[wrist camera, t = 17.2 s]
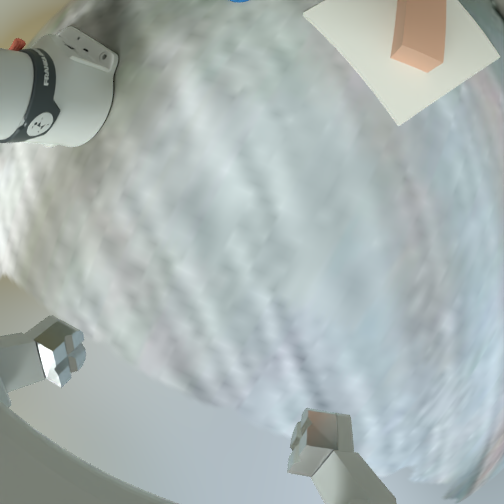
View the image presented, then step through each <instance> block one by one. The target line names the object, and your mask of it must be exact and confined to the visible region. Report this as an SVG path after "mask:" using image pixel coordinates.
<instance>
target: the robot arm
mask: <svg viewBox="0 0 504 504" xmlns="http://www.w3.org/2000/svg"><path fill="white" fill-rule="evenodd" d="M25 44H26V43H25V42H24V41H23V40H22V39H19V38H18V39H17V38H16V39H15V40H14V41H13V44H12V45H11V47H10V48H9V49H2V48H0V143H13V142H23V143H37V144H43V146H44V147H48V148H51V147H54V146H57V145H62V146H67V147H76V146H80V145H82V144H84V143H86V142H87V141H89V140H90V139H91V138H92V137H93V136H94V135H95V134H96V133H97V132H98V131H99V129H100V128H101V126H102V125H103V123H104V121H105V119H106V117H107V115H108V112H109V110H110V106H111V103H112V97H113V76H114V72H115V70H116V67H117V64H118V55H117V54H116V53H114V52H113V51H111V50H110V49H108V48H107V47H105V46H104V45H102V44H101V43H99V42H97V41H96V40H94V39H93V38H91V37H89V36H88V35H86V34H85V33H83V32H81V31H80V30H78V29H76V28H75V27H71V26H69V27H67V28H65V29H63V30H62V31H61V32H59V33H58V34H57V35H52V34H47V35H44V36H43V37H41V38H40V39H38V40H37V41H36V42H35V43H34V44H33V46H32V47H31V48H30V49H23V50H21V49H22V48H23V47H24V46H25ZM106 56H107V57H106ZM105 57H106V59H105ZM83 341H84V336H83V332H81V331H80V330H78V329H76V328H75V327H73V326H71V325H69V324H67V323H66V322H64V321H62V320H60V319H58V318H56V317H55V316H48V317H47V318H45V319H44V320H43V321H41V322H40V323H39V324H37V325H36V326H34V327H33V328H32V329H30V330H29V331H28V332H26V333H25V334H23V333H16V334H10V335H4V336H0V504H178V503H175V502H173V501H170V500H167V499H165V498H162V497H159V496H156V495H154V494H152V493H149V492H146V491H144V490H142V489H140V488H137V487H135V486H133V485H131V484H128V483H126V482H124V481H122V480H120V479H118V478H116V477H114V476H112V475H110V474H107V473H106V472H104V471H102V470H100V469H98V468H96V467H95V466H93V465H91V464H89V463H87V462H86V461H84V460H82V459H80V458H79V457H77V456H75V455H74V454H72V453H70V452H69V451H67V450H66V449H64V448H62V447H61V446H59V445H58V444H56V443H55V442H53V441H52V440H50V439H49V438H47V437H46V436H45V435H43V434H42V433H40V432H39V431H38V430H36V429H35V428H33V427H32V426H31V425H30V424H28V423H27V422H26V421H24V420H23V419H22V418H20V417H19V416H18V415H17V414H16V413H14V412H13V411H12V410H11V409H9V407H10V406H11V400H10V398H9V396H8V394H7V393H8V392H11V391H14V390H16V389H19V388H22V387H25V386H28V385H31V384H33V383H36V382H39V381H42V380H44V379H45V378H46V379H48V380H49V381H51V382H53V383H54V384H56V385H58V386H59V387H63V386H64V385H65V384H66V383H67V382H68V381H69V380H70V379H71V373H72V372H75V371H78V370H79V369H80V368H81V367H82V365H83V363H84V361H85V357H86V352H85V348H84V346H83V344H82V342H83ZM290 448H291V449H292V451H293V452H292V453H291V455H290V456H289V462H288V470H287V473H291V474H297V475H302V476H309V477H311V479H312V481H313V483H314V485H315V486H316V488H317V490H318V492H319V494H320V496H321V498H322V500H323V501H324V503H325V504H396V498H395V497H394V496H393V495H392V493H391V492H390V491H389V490H388V489H387V487H386V486H385V485H384V484H383V483H382V482H381V480H380V479H379V478H378V477H377V475H376V474H375V473H374V472H373V471H372V469H371V468H370V467H369V466H368V464H367V463H366V462H365V461H364V460H363V458H362V457H361V456H360V455H359V453H355V452H354V445H353V434H352V424H351V417H350V415H346V414H339V413H333V412H327V411H321V410H316V409H310V408H306V409H305V410H304V412H303V414H302V419H301V421H300V422H298V423H297V425H296V427H295V429H294V431H293V434H292V438H291V444H290Z"/></svg>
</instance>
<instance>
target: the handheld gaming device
mask: <svg viewBox="0 0 504 504" xmlns="http://www.w3.org/2000/svg"><path fill="white" fill-rule="evenodd" d="M230 1H233V2H245V1H249V0H230Z"/></svg>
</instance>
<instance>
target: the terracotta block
mask: <svg viewBox="0 0 504 504" xmlns="http://www.w3.org/2000/svg"><path fill="white" fill-rule="evenodd" d="M445 34H446V0H398V1H397V11H396V20H395V28H394V36H393V43H392V50H391V57H390V58H391V59H394V60H397V61H399V62H402V63H405V64H407V65H410V66H412V67H415V68H417V69H419V70H422V71H424V72H426V73H428V72H429V71H431V70H433V69H434V68H436V67H437V66H439V65H441V64H442V63H443V61H444V49H445Z"/></svg>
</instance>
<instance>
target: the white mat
mask: <svg viewBox="0 0 504 504" xmlns="http://www.w3.org/2000/svg"><path fill="white" fill-rule="evenodd" d="M397 1H398V0H325V1H323V2H321V3H319V4H318V5H316V6H314V7H312V8H311V9H309V10H307V11H305V12H304V13H303V16H304V17H305V18H306V19H307V20H308V21H309V22H310V23H311V24H312V25H313V26H314V27H315V28H316V29H317V30H318V31H319V32H320V33H321V34H322V35H323V36H324V37H325V38H326V39H327V40H328V41H329V42H330V43H331V44H332V45H333V46H334V47H335V48H336V49H337V50H338V51H339V52H340V54H341V55H342V56H343V57H344V58H345V59H346V60H347V61H348V63H349V64H350V65H351V66H352V67H353V68H354V69H355V71H356V72H357V73H358V74H359V75H360V77H361V78H362V79H363V80H364V81H365V83H366V84H367V85H368V86H369V88H370V89H371V90H372V91H373V93H374V94H375V95H376V97H377V98H378V99H379V101H380V102H381V103H382V105H383V106H384V107H385V109H386V110H387V111H388V113H389V114H390V116H391V117H392V118H393V120H394V121H395V123H396V124H397V125H398V126H400V125H401V124H403V123H404V122H406V121H407V120H409V119H410V118H411V117H413V116H414V115H416V114H417V113H419V112H420V111H422V110H423V109H424V108H426V107H427V106H429V105H430V104H432V103H433V102H435V101H436V100H438V99H439V98H441V97H442V96H443V95H445V94H446V93H448V92H449V91H451V90H452V89H454V88H455V87H457V86H458V85H460V84H461V83H463V82H464V81H466V80H467V79H469V78H470V77H472V76H473V75H475V74H476V73H477V72H479V71H480V70H482V69H483V68H485V67H486V66H488V65H490V64H491V63H493V62H494V61H496V60H497V59H499V58H500V55H499V54H498V52H497V51H496V49H495V48H494V46H493V45H492V43H491V42H490V41H489V39H488V38H487V36H486V35H485V34H484V32H483V31H482V30H481V28H480V27H479V26H478V24H477V23H476V22H475V20H474V19H473V18H472V17H471V15H470V14H469V13H468V12H467V11H466V9H465V8H464V7H463V6H462V5H461V3H460V2H459V1H458V0H446V34H445V49H444V61H443V63H442V64H441V65H439V66H437V67H436V68H434V69H433V70H431V71H429V72H428V73H426V72H424V71H422V70H419V69H417V68H415V67H412V66H410V65H407V64H405V63H402V62H399V61H397V60H394V59H391V58H390V57H391V50H392V43H393V36H394V28H395V20H396V11H397Z"/></svg>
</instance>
